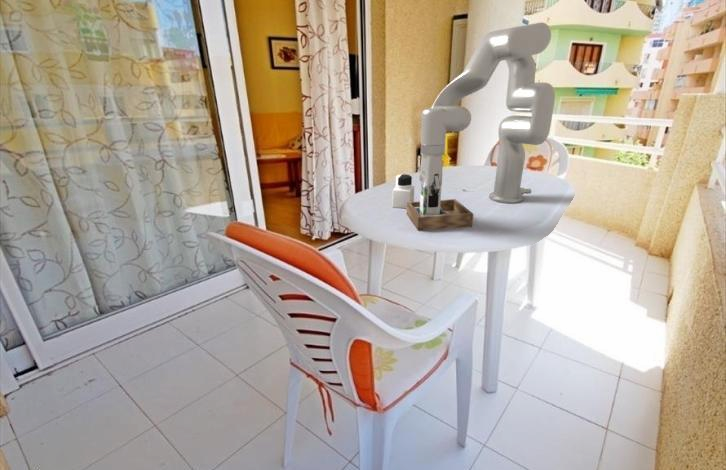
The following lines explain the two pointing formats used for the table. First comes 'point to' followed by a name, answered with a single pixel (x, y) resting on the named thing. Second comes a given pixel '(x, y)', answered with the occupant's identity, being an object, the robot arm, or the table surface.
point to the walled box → (441, 216)
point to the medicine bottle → (402, 191)
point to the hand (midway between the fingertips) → (430, 203)
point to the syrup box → (424, 201)
